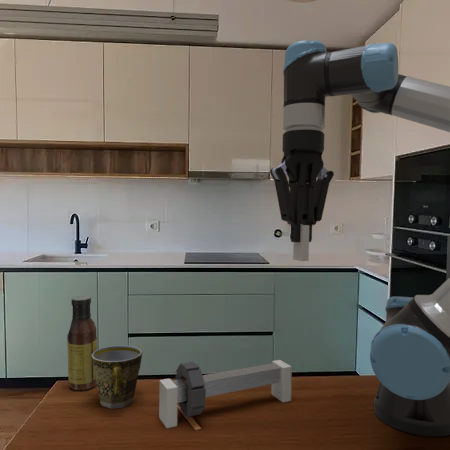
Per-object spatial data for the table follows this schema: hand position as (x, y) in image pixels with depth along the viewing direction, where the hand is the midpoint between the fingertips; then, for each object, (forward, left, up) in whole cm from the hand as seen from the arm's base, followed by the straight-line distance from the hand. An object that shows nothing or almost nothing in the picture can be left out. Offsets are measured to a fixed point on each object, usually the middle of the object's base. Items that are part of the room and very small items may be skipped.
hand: (300, 259), depth 79 cm
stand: (+9, -10, -30) cm, 33 cm away
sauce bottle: (+34, -33, -31) cm, 56 cm away
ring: (+18, -10, -30) cm, 37 cm away
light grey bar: (+9, -10, -27) cm, 30 cm away
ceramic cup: (+29, -21, -31) cm, 47 cm away
